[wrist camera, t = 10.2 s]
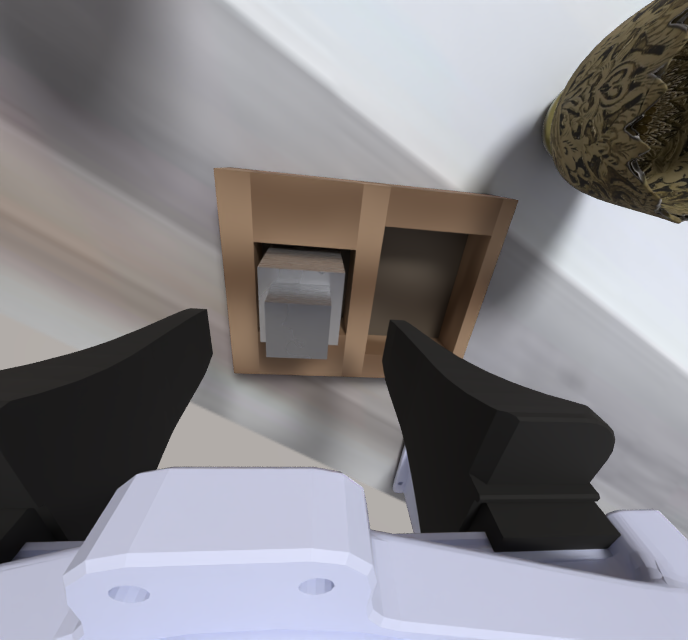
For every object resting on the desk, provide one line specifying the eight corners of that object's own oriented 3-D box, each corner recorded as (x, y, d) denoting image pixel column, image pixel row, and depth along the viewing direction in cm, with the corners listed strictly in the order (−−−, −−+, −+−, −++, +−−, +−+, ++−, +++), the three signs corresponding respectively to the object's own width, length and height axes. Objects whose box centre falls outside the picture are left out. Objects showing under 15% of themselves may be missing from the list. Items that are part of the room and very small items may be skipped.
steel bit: (333, 301, 18) (340, 371, 12) (275, 298, 18) (251, 368, 12) (338, 244, 17) (349, 291, 10) (274, 238, 16) (246, 285, 10)
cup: (476, 189, 16) (600, 210, 9) (538, 3, 12) (817, -200, 5) (595, 209, 17) (790, 243, 10) (682, 43, 14) (1073, -87, 6)
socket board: (441, 357, 21) (455, 379, 19) (243, 349, 20) (234, 373, 18) (491, 195, 16) (518, 199, 14) (229, 167, 15) (213, 168, 12)
